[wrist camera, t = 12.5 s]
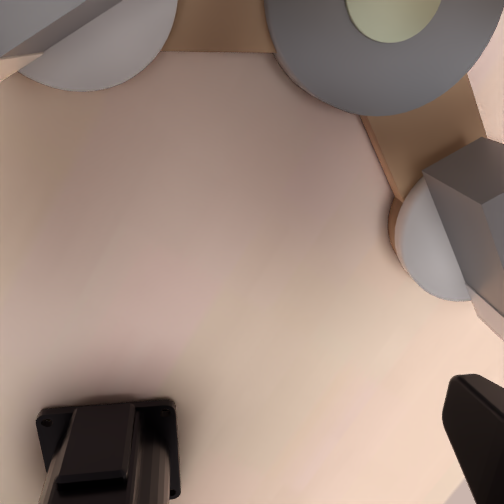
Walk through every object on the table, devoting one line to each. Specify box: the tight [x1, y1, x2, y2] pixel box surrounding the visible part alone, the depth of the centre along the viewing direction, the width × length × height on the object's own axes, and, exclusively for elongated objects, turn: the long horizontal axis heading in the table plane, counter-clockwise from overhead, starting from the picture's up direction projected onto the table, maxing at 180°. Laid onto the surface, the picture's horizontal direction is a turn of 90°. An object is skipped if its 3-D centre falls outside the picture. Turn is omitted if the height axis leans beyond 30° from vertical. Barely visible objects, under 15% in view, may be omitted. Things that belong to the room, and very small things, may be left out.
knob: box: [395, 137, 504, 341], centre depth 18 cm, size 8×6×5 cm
